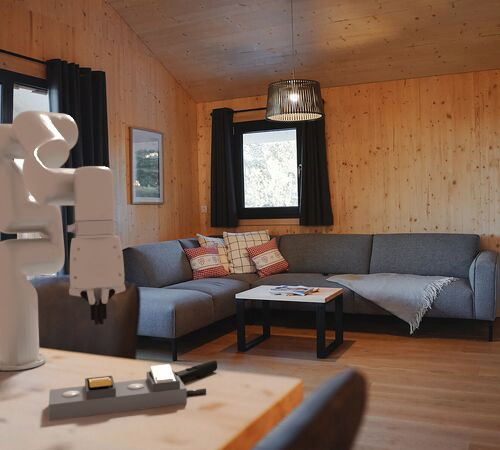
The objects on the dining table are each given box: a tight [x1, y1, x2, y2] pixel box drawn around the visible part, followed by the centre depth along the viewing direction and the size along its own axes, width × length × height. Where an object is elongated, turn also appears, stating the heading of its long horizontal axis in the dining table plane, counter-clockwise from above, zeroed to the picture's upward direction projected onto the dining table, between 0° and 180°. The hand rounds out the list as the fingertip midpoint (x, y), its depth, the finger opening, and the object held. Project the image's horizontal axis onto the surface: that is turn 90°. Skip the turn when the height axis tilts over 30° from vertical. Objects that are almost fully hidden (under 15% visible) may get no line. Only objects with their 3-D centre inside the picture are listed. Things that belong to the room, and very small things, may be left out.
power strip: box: [48, 368, 207, 421], centre depth 114 cm, size 9×31×5 cm, turn 108°
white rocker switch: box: [149, 363, 176, 383], centre depth 116 cm, size 7×4×1 cm, turn 18°
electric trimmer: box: [173, 359, 218, 384], centre depth 129 cm, size 4×16×3 cm, turn 140°
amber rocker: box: [89, 377, 112, 388], centre depth 112 cm, size 7×4×1 cm, turn 18°
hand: (98, 323), depth 111 cm, fingers closed
